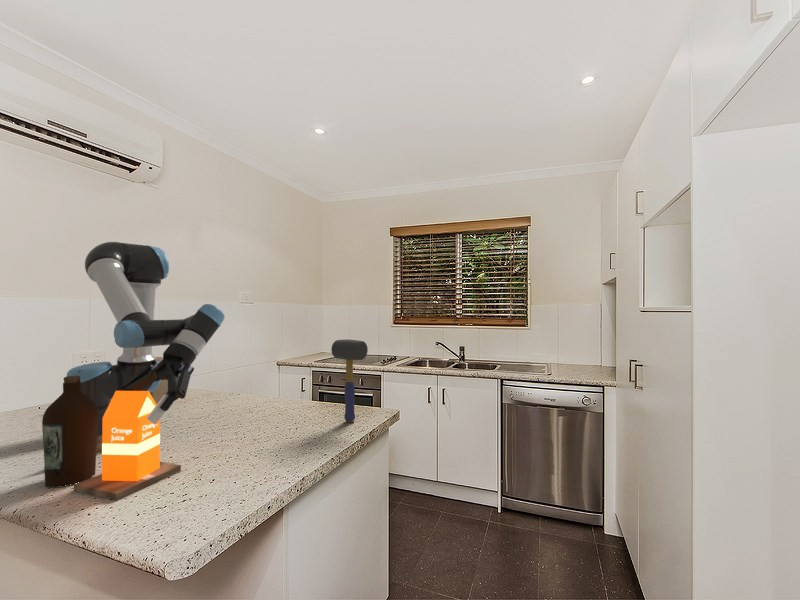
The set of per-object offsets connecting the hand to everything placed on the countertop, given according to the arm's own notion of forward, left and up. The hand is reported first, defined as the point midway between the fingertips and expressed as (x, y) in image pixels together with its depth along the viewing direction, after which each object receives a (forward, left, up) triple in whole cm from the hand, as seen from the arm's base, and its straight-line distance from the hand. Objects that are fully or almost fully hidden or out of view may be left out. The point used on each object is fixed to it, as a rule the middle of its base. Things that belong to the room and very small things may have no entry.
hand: (130, 419), depth 93 cm
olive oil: (-15, -4, -15) cm, 22 cm away
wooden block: (-67, +58, -15) cm, 90 cm away
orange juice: (0, +1, -13) cm, 14 cm away
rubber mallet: (+29, +60, -15) cm, 68 cm away
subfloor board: (0, 0, -15) cm, 15 cm away
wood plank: (-26, +5, -15) cm, 31 cm away
